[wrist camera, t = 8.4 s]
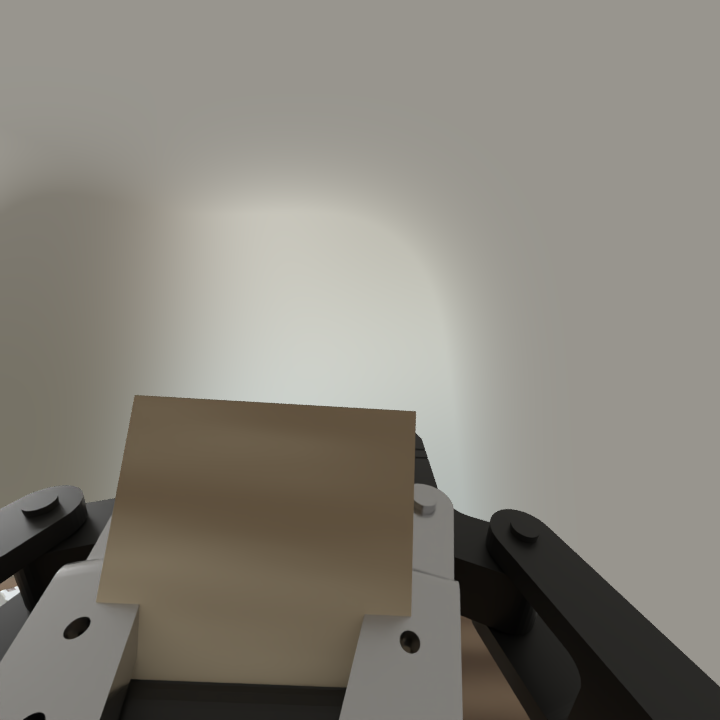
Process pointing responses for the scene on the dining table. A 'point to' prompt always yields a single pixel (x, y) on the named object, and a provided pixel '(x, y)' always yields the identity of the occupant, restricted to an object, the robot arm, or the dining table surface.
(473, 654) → the low stand
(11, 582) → the dining table surface
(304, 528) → the brown rectangular block
